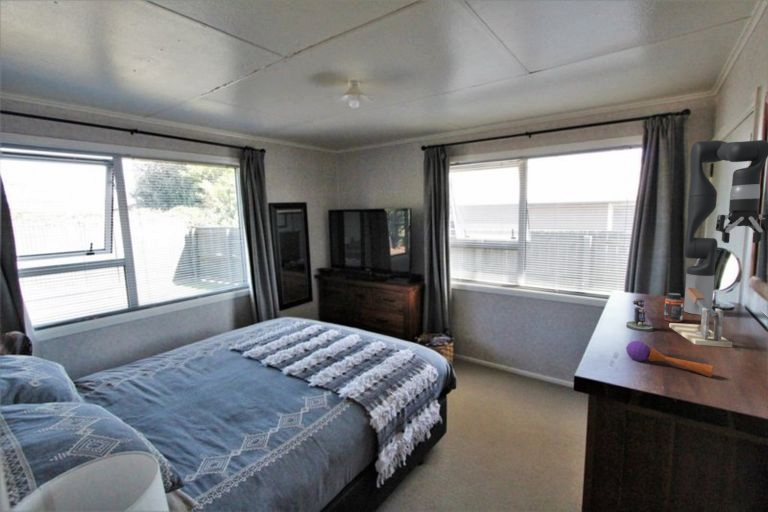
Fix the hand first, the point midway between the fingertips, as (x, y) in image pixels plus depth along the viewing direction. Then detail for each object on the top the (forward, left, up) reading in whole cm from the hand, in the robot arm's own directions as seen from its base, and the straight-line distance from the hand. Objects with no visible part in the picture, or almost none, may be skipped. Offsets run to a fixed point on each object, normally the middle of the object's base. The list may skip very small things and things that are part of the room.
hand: (740, 242), depth 129 cm
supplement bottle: (-10, -15, -33) cm, 38 cm away
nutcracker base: (+10, -15, -33) cm, 38 cm away
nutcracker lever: (+10, -15, -24) cm, 30 cm away
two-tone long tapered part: (+43, -36, -34) cm, 65 cm away
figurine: (+4, -31, -33) cm, 46 cm away
